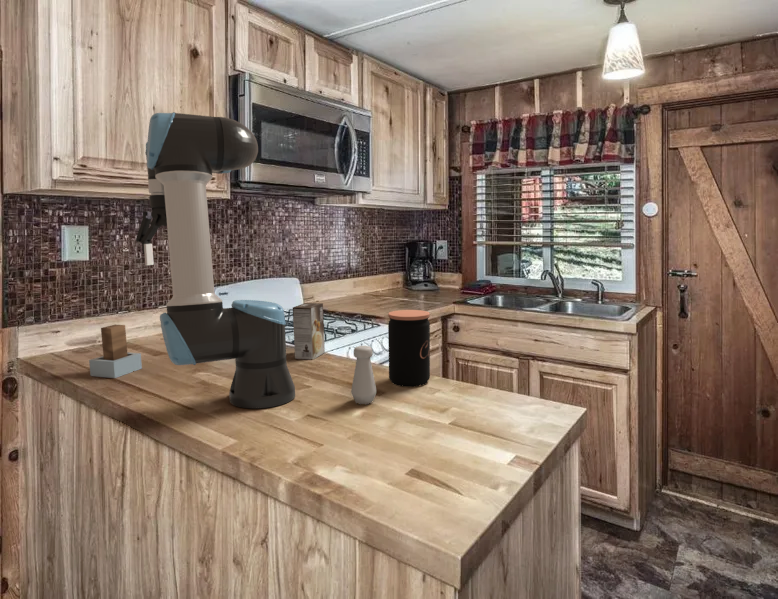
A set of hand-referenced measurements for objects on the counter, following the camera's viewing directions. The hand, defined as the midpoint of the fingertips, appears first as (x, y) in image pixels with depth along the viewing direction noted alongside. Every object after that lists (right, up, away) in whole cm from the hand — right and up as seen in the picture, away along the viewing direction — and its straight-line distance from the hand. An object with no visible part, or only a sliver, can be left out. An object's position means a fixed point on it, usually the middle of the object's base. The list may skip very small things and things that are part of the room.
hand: (167, 265), depth 162 cm
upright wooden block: (-9, -30, -13) cm, 34 cm away
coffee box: (+43, -28, +3) cm, 52 cm away
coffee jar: (+73, -32, -25) cm, 83 cm away
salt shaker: (+62, -34, -40) cm, 81 cm away
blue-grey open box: (-9, -31, -13) cm, 35 cm away
